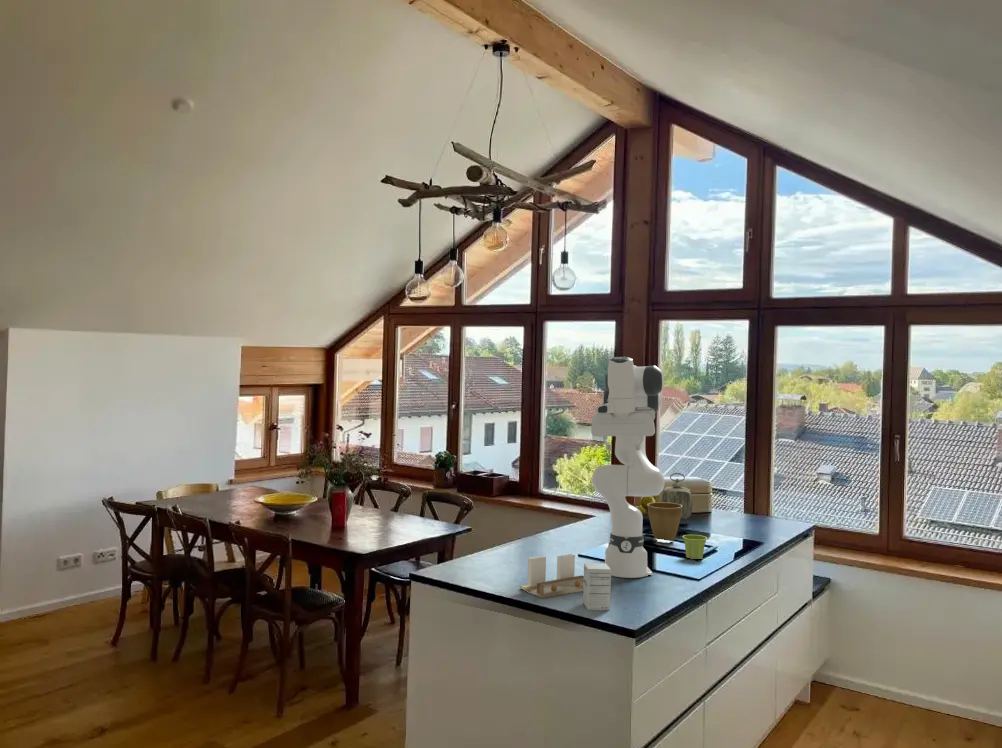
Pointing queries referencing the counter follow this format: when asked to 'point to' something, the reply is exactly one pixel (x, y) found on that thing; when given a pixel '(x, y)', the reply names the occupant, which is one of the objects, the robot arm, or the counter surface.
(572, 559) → the block
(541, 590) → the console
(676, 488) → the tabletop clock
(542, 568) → the white rectangular block
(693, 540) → the plant pot
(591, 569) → the supplement box
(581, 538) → the counter surface
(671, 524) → the plant pot
